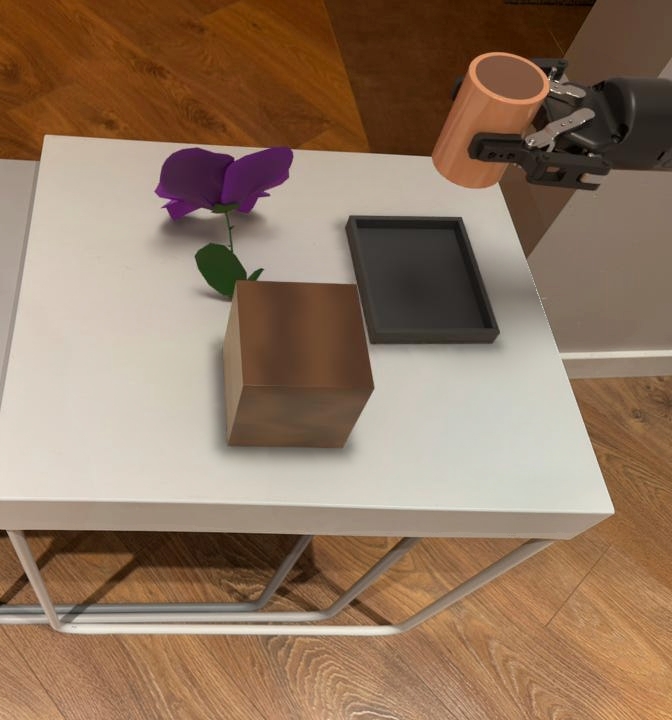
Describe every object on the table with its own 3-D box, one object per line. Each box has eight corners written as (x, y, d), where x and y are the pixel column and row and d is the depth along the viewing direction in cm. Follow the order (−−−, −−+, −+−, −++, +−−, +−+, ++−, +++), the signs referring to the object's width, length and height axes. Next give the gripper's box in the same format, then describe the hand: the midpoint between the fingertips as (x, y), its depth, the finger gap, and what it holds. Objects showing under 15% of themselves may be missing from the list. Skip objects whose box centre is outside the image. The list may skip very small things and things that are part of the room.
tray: (492, 343, 81) (500, 332, 79) (370, 343, 80) (375, 332, 78) (455, 228, 90) (462, 216, 88) (345, 227, 89) (349, 214, 87)
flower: (286, 299, 89) (266, 185, 89) (332, 272, 74) (308, 136, 75) (161, 316, 86) (143, 198, 87) (183, 292, 71) (160, 150, 72)
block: (329, 351, 79) (356, 283, 70) (342, 447, 73) (375, 388, 64) (222, 348, 78) (236, 279, 69) (227, 445, 72) (243, 385, 63)
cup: (516, 165, 69) (565, 79, 61) (478, 200, 66) (524, 115, 58) (456, 128, 71) (496, 41, 63) (417, 161, 68) (453, 73, 60)
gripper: (650, 33, 66) (460, 23, 65) (715, 150, 58) (501, 141, 57) (604, 105, 72) (430, 97, 71) (657, 219, 64) (463, 212, 63)
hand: (463, 116), depth 64 cm, fingers closed on cup, 6 cm apart
